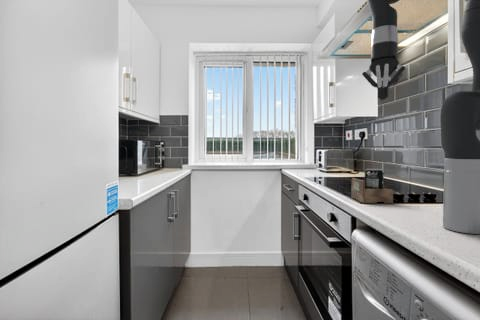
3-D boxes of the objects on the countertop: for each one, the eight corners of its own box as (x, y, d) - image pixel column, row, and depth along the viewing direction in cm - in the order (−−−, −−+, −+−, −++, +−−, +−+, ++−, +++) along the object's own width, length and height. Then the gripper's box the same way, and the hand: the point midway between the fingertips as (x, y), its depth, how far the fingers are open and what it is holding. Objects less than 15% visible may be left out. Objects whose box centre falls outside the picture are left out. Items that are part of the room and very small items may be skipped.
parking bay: (378, 197, 122) (378, 178, 122) (392, 203, 110) (393, 181, 110) (350, 197, 123) (351, 177, 122) (361, 203, 111) (362, 181, 110)
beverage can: (376, 199, 120) (376, 168, 120) (386, 201, 114) (387, 169, 113) (360, 199, 119) (361, 168, 118) (370, 202, 112) (371, 169, 112)
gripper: (358, 45, 97) (357, 100, 97) (405, 35, 89) (404, 96, 89) (365, 51, 103) (365, 103, 103) (410, 42, 94) (409, 99, 95)
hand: (383, 99), depth 96 cm, fingers closed
